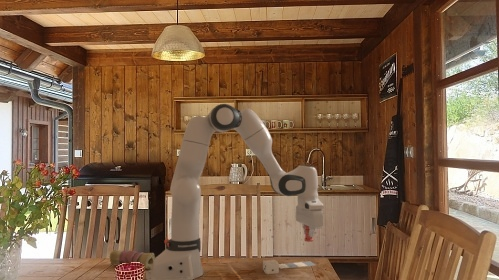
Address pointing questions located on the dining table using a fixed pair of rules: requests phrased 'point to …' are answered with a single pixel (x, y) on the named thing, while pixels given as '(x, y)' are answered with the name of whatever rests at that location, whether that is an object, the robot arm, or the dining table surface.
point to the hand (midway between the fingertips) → (308, 235)
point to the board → (296, 264)
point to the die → (270, 266)
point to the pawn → (307, 238)
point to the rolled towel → (132, 257)
